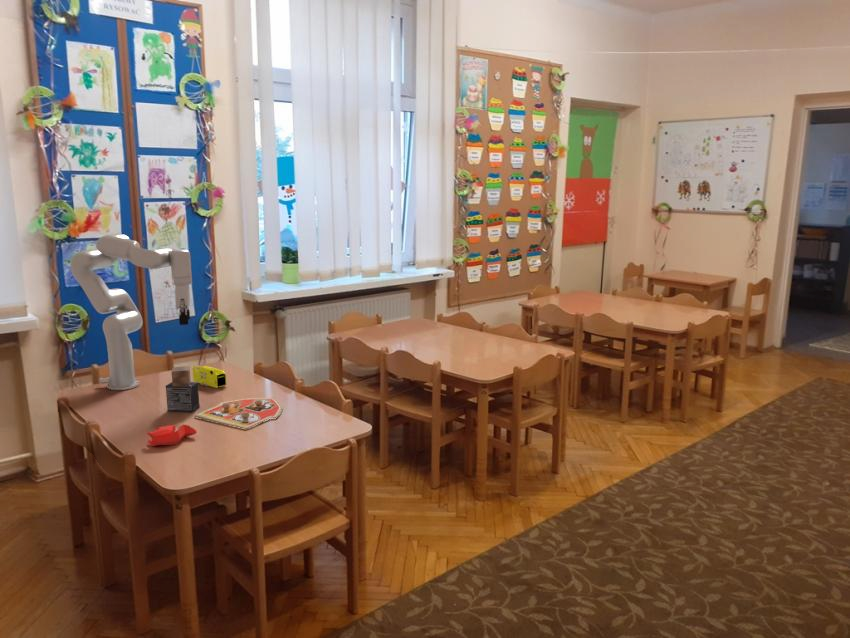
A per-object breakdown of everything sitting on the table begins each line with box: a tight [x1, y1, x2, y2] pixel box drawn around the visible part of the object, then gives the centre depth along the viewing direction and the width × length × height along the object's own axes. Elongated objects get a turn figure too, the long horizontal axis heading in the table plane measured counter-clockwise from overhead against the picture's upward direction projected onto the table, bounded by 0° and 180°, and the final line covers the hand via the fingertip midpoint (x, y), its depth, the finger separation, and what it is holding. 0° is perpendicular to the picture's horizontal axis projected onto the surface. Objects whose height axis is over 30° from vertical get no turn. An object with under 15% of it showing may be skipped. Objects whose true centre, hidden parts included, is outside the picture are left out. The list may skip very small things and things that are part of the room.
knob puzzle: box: [194, 397, 284, 429], centre depth 254 cm, size 29×30×4 cm
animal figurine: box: [147, 424, 198, 447], centre depth 226 cm, size 12×15×5 cm
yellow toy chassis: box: [192, 365, 228, 389], centre depth 285 cm, size 16×6×8 cm, turn 55°
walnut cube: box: [171, 365, 191, 387], centre depth 253 cm, size 6×6×6 cm
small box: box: [165, 381, 200, 413], centre depth 255 cm, size 11×6×10 cm, turn 85°
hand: (184, 321), depth 269 cm, fingers open, 9 cm apart
